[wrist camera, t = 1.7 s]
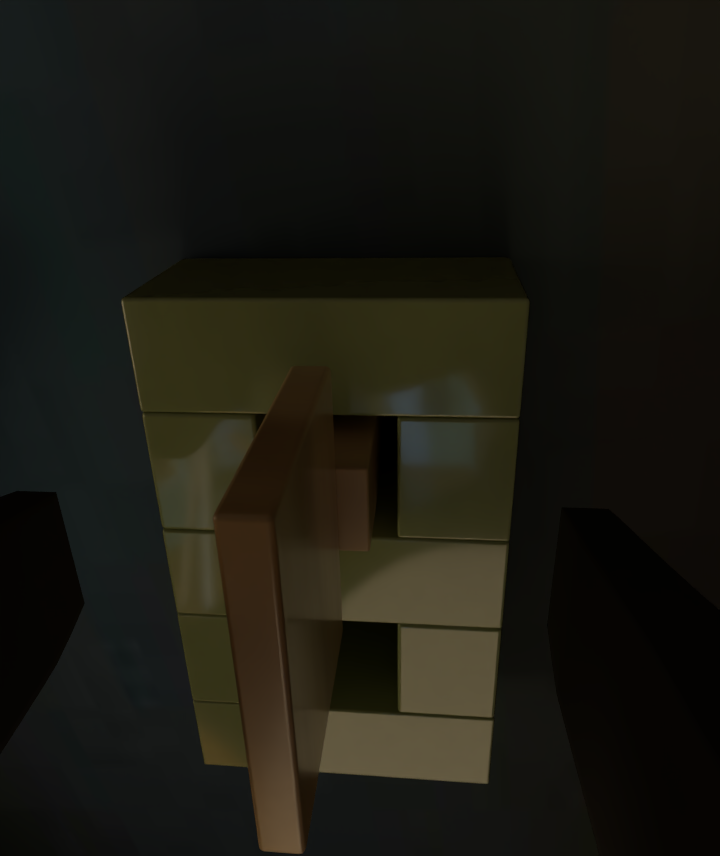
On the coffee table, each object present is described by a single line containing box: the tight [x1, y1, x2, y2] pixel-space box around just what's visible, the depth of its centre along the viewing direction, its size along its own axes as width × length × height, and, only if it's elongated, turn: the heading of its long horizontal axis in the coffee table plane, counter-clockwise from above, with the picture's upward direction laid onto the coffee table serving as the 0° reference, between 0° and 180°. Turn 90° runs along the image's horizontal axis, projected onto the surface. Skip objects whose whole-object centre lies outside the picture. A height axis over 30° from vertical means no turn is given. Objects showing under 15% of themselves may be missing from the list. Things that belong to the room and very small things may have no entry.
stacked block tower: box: [121, 257, 530, 784], centre depth 14 cm, size 11×6×3 cm, turn 1°
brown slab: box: [213, 366, 385, 854], centre depth 11 cm, size 5×2×8 cm, turn 1°
